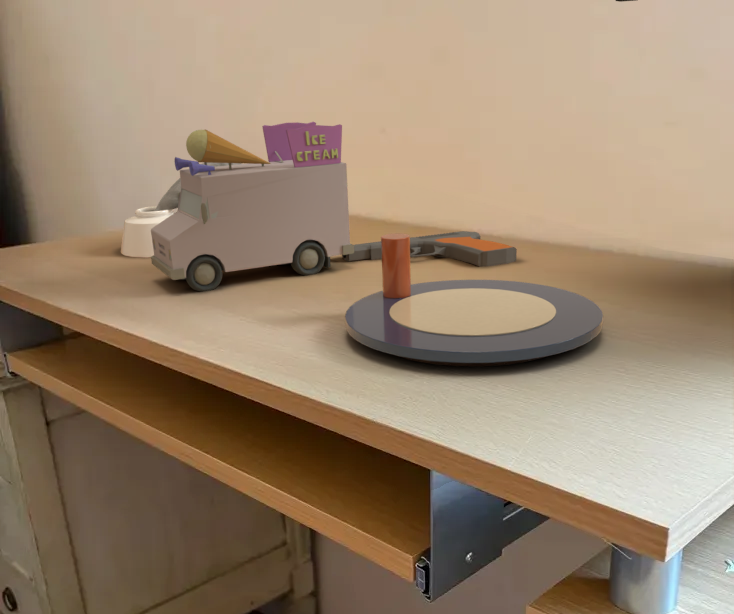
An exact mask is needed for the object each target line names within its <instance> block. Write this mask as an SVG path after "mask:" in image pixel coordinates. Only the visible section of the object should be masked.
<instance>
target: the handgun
mask: <svg viewBox="0 0 734 614" xmlns="http://www.w3.org/2000/svg"><path fill="white" fill-rule="evenodd" d="M353 245H354V253H353V254H347V255H341V257H342V260H344V261H345V262H348V263H350V262H356V261H357V262H358V261H366V260H371V261H375V260H376V261H377V260H382V253H381V240H380V241H373V242H371V241H370V242H364V243H356V244H355V243H354V244H353ZM517 251H518V250H517V248H516V247H514V246H511V245H509V244H506V243H505V244H504V243H501V242H496V241H491V240H485V239H481V234H480V233H479V232H477V231H467V230H461V231H453V232H446V233H437V234H431V235H422V236H414V237H413V236H412V237H411V236H410V258H415V257H416V258H417V257H427V256H431V257H437V258H442V259H443V258H444V259H454V260H457V261H460V262H463V263H466V264H471V265H473V266H476V267H479V268H481V267H483V268H484V267H492V266H493V267H494V266H500V265H506V264H510V263H514V262H516V261H517V253H518V252H517Z"/></svg>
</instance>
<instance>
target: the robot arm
mask: <svg viewBox="0 0 734 614" xmlns="http://www.w3.org/2000/svg"><path fill="white" fill-rule="evenodd" d="M635 1H636V2H637V0H615V2H621V3H622V2H635Z"/></svg>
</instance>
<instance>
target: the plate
mask: <svg viewBox="0 0 734 614" xmlns="http://www.w3.org/2000/svg"><path fill="white" fill-rule="evenodd" d="M410 238H411V235H410V234H407V233H397V232H396V233H387V234H382V235H381V236H380V241H381V253H382V259H381V283H382V284H381V285H382V290H380V291H377V292H374V293H371V294H369V295H367V296H364V297H361V298H360V299H358V300H357V301H355V302H354V303H353V304H351V305H350V306H349V307H348V308H347V310H346V312H345V316H344V324H345V330H346V331H347V334H348V335H349V336H350V337H351V338H352V339H353V340H355V341H357V342H358V343H360V344H361V345H364V346H365V347H368V348H370V349H373V350H376V351H379V352H382V353H384V354H388V355H393V356H396V355H397V356H396V357H399V356H402V357H407V358H413V359H420V360H428V361H439V362H454V363H492V362H508V361H518V360H527V359H533V358H539V357H544V358H546V357H545V356H547V357H550V356H553V355H559V354H561V353H564V352H568V351H572V350H575V349H577V348H579V347H582V346H584V345H586V344H588V343H590V342H591V341H592V340H594V339H595V338H597V336H599V334H600V332H601V331H602V327H603V323H604V313H603V310H602V309H601V308H600V306H599V305H598V304H596V303H595V302H594V301H593V300H591V299H589V298H588V297H585V296H583V295H582V294H581V295H580V294H579V293H576V292H573V291H570V290H567V289H563V288H558V287H554V286H550V285H544V284H540V283H539V284H538V283H532V282H526V281H525V282H524V281H516V280H503V279H451V280H449V279H448V280H438V281H427V282H420V283H419V282H418V283H411V282H412V278H411V277H412V274H411V273H412V272H411V271H412V270H411V269H412V268H411V257H410ZM549 355H550V356H549ZM402 357H401V358H402Z"/></svg>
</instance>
